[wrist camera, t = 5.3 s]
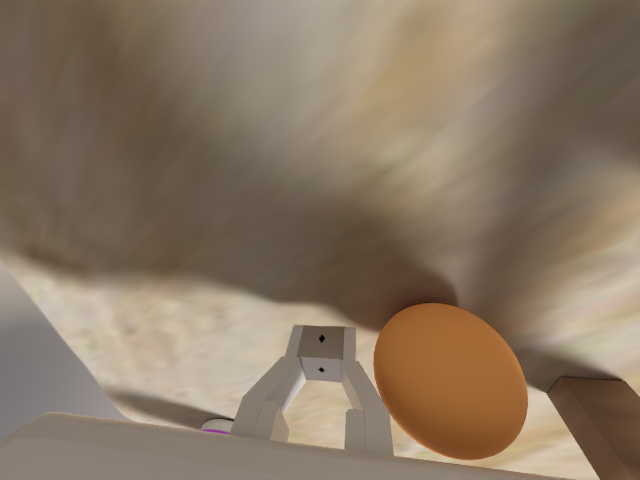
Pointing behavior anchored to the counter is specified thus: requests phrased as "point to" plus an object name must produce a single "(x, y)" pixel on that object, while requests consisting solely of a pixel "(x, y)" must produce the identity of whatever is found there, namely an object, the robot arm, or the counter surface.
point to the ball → (450, 381)
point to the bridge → (602, 423)
